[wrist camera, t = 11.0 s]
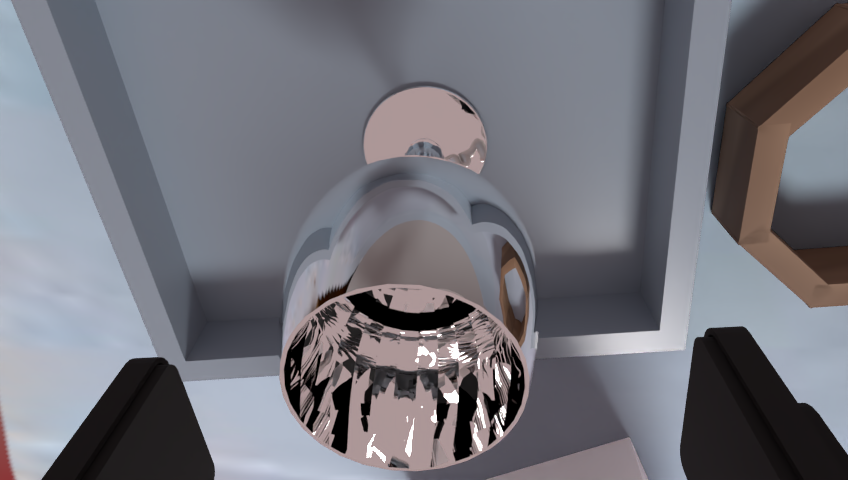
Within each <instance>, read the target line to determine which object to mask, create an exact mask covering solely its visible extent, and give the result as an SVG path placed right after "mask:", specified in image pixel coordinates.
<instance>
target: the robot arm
mask: <svg viewBox="0 0 848 480" xmlns="http://www.w3.org/2000/svg"><path fill="white" fill-rule="evenodd" d="M680 456H681V462H682V466H683V469H684V472H685V475H686V477H687V480H848V455H847V453H846V452H845V450H844V449H843V448H842V446H841V445H840V443H839V442H838V441H837V439H836V438H835V436H834V435H833V434H832V432H831V431H830V429H829V428H828V426H827V425H826V424H825V422H824V421H823V419H822V418H821V417H820V415H819V414H818V413H817V412H816V411H815V409H814V408H813V407H812V406H810V405H808V404H806V403H797V401H796V400H795V398H794V397H793V395H792V394H791V392H790V391H789V390H788V388H787V387H786V385H785V384H784V382H783V381H782V379H781V378H780V376H779V375H778V373H777V372H776V371H775V369H774V368H773V366H772V365H771V363H770V362H769V360H768V359H767V357H766V356H765V354H764V353H763V352H762V350H761V349H760V347H759V346H758V344H757V343H756V341H755V340H754V338H753V337H752V335H751V334H750V332H749V331H748V330H747V329H746V328H745V327H742V326H741V327H722V328H709V329H707V330H706V332H705V335H704V337H697V338H696V339H695V341H694V347H693V354H692V362H691V369H690V377H689V384H688V392H687V399H686V407H685V414H684V422H683V429H682V437H681V445H680ZM214 476H215V469H214V463H213V461H212V458H211V455H210V453H209V450H208V448H207V445H206V442H205V440H204V437H203V434H202V432H201V429H200V427H199V424H198V421H197V419H196V416H195V413H194V411H193V408H192V406H191V403H190V400H189V398H188V395H187V393H186V390H185V387H184V385H183V382H182V379H181V377H180V374H179V372H178V369H177V368H176V366H175V365H172V364H169V363H168V361H167V360H166V359H165V358H162V357H153V358H134V359H131V360H129V361H128V362H127V363H126V364H125V365H124V367H123V368H122V369H121V371H120V372H119V374H118V375H117V376H116V378H115V379H114V380H113V382H112V383H111V385H110V386H109V387H108V389H107V390H106V391H105V393H104V394H103V396H102V397H101V398H100V400H99V401H98V402H97V404H96V405H95V407H94V408H93V409H92V411H91V412H90V413H89V415H88V416H87V418H86V419H85V420H84V422H83V423H82V424H81V426H80V427H79V429H78V430H77V431H76V433H75V434H74V436H73V437H72V438H71V440H70V441H69V442H68V444H67V445H66V447H65V448H64V449H63V451H62V452H61V453H60V455H59V456H58V458H57V459H56V460H55V462H54V463H53V464H52V466H51V467H50V469H49V470H48V471H47V473H46V474H45V475H44V477H43V478H42V480H214Z"/></svg>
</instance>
